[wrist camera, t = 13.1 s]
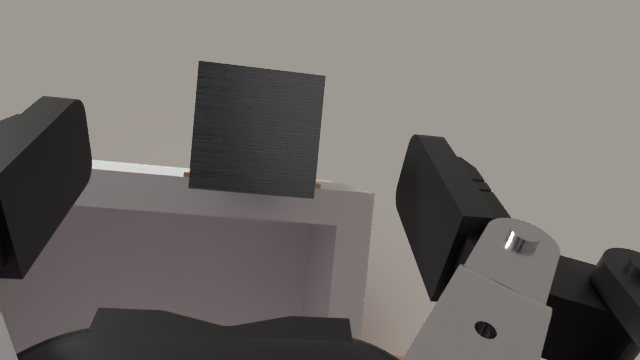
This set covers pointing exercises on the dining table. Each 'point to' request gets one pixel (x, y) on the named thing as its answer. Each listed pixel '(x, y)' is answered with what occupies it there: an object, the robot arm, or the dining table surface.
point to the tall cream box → (193, 255)
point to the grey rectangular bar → (256, 130)
